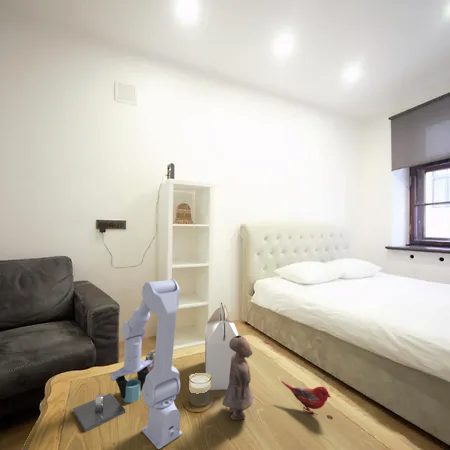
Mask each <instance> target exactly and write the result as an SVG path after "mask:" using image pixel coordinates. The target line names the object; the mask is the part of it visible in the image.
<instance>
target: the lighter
mask: <svg viewBox="0 0 450 450" xmlns="http://www.w3.org/2000/svg"><path fill="white" fill-rule="evenodd" d="M154 359H155V349H152V350H150V352H147V354H146V356H145V359H144V361H146V360H151V361H152V367H147V369H148V370H149V372H150V371H151V370H152V369H153V367H154ZM144 383H145V381H144Z"/></svg>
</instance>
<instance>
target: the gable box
mask: <svg viewBox="0 0 450 450" xmlns="http://www.w3.org/2000/svg"><path fill="white" fill-rule="evenodd" d="M238 335H239V333H238V330H237V327H236V325H235V323H234V321H233V320H232V318H231V317H230V315H229V313H228V310H227V307H226V304H224V305H223V302H220V307H218V308H217V309H215V311H214V312H213V313H212V315H211V316H210V318H209V319H208V321H207V323H205V346H204V353H205V354H204V371H205V372H206V373H208V374H210V375H211V377H212V379H211V387H210V390H209V391H223V390H224V391H226V390H227V388H228V384H229V375H230V366H231V358H232V355H233V354H235V353H236V352H235V351H233V350H232V349H231V348H230V346H229V343H230V340H231V339H232V338H233V337H235V336H238Z"/></svg>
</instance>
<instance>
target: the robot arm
mask: <svg viewBox="0 0 450 450" xmlns="http://www.w3.org/2000/svg"><path fill="white" fill-rule="evenodd" d="M141 290H142V291H141V294H142V295H141V296H142V299H141V302H140V304H139V306H138V307H135V309H134V310H133V312H132V313H131V316H130V317H129V319H128V320H126V321H123V322H122V323H123V324H122V328H121V329H122V330H121V332H122V336H123V338H124V349H123V350H124V355H123V356H124V357H123V366H122V367H121V368H119V369H117V370H116V371H115V370H114V372H111V373H110V381H111V382H115V381H116V385H117V387H118V389H119V393H120V397H121V398H123V399H124V398H125V395H126V384H127V380H126V379H127V378H126V376H128V375H133V374H136V373H137V374H136V375H137V376H136V377H137V379H139V380H140V381H141V393H142V399H143V401H144V403H145V405H146V406H147V407H148V419H147V420H148V422H147V425H145V426H144V427H143V428H141V431H142V433H143V435H145V436H146V437H147V439H148V440H149V441H150V442H151V443H152V444H153V445H154V446H155V448H156V449H158V450H159V449H161V448H164V447H165V446H166V445H168V444H169V443H171V442H173V441H174V440H175V439H177V438H179V437H181V436H182V434H183V431H182V430H181V428H180V427H181V422H180V421H181V414H180V413H181V412H180V411H179V409H178V408H177V406H176V404H175V400H176V399H177V395H179V393H180V390H181V380H180V372H179V370H178V369H177V368H176V367H175V366H173V357H174V348H175V347H174V345H175V344H174V343H175V334H176V323H177V322H176V321H177V312H178V311H177V309H178V308H179V303H180V293H181V288H180V286H179V284H178V282H177V280H176V279H174V278H171V279H167V280H158V281H157V280H156V281H146V282H144V284H143V286H142V289H141ZM150 312H151V313H153V314H155V315H157V326H156V337H155V349H154V350H155V353H154V355H155V359H154V367H153V369H152V370H151V371H150V372H149V370H148V369H147V367H152V361H151V360H146V359H145V360H146V361H145V360H142V341H143V340H144V335H145V333H146V328H145V327H146V325H147V322H148V321H149V319H150V317H151V313H150ZM144 381H145V383H144Z"/></svg>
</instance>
